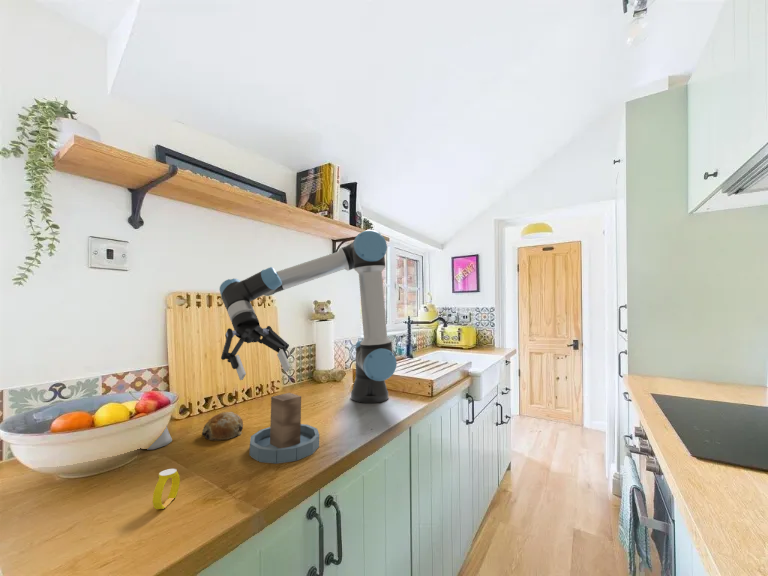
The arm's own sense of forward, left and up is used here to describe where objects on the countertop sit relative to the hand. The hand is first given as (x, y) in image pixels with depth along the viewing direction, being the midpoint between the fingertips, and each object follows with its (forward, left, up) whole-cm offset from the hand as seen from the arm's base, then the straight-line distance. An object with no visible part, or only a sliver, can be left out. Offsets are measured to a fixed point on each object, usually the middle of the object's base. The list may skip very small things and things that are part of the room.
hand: (266, 372), depth 92 cm
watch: (+28, +16, -18) cm, 37 cm away
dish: (0, +11, -18) cm, 21 cm away
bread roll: (+8, -10, -18) cm, 22 cm away
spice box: (0, +11, -17) cm, 20 cm away
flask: (+22, -16, -18) cm, 33 cm away
